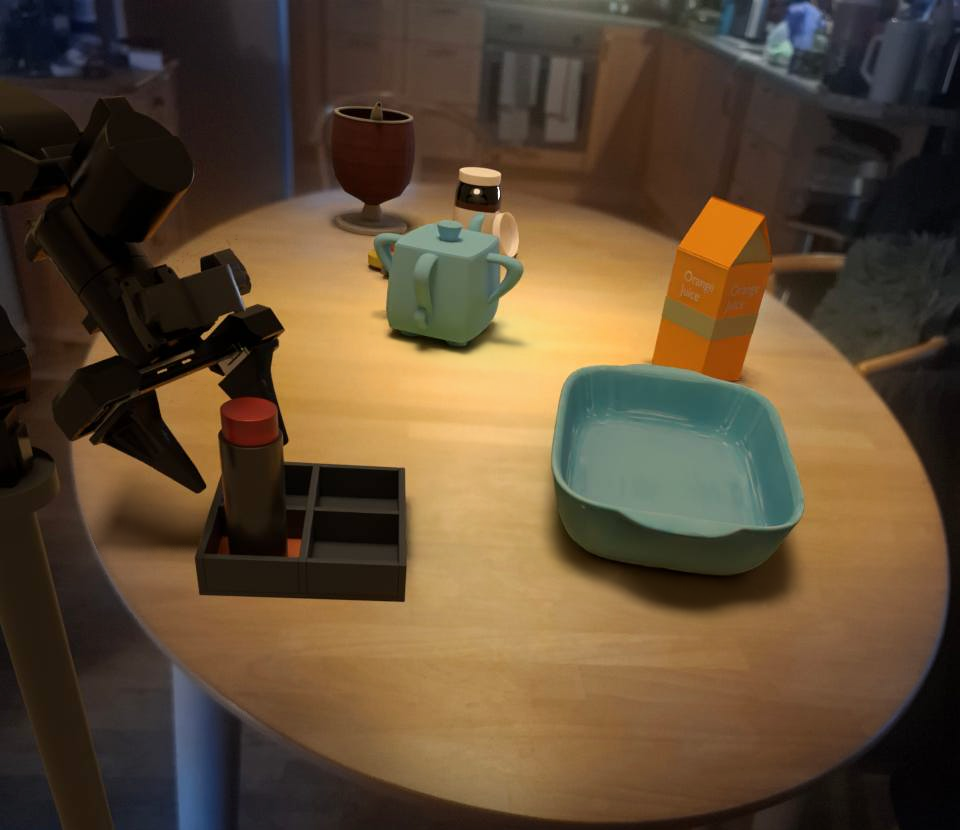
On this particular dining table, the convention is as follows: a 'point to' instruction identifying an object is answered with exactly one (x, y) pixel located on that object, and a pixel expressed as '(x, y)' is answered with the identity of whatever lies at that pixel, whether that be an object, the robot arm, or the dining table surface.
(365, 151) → the mate gourd
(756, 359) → the dining table surface
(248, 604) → the dining table surface
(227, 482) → the pepper grinder
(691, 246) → the orange juice
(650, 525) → the casserole dish
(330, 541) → the tray
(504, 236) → the spread jar
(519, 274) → the teapot
